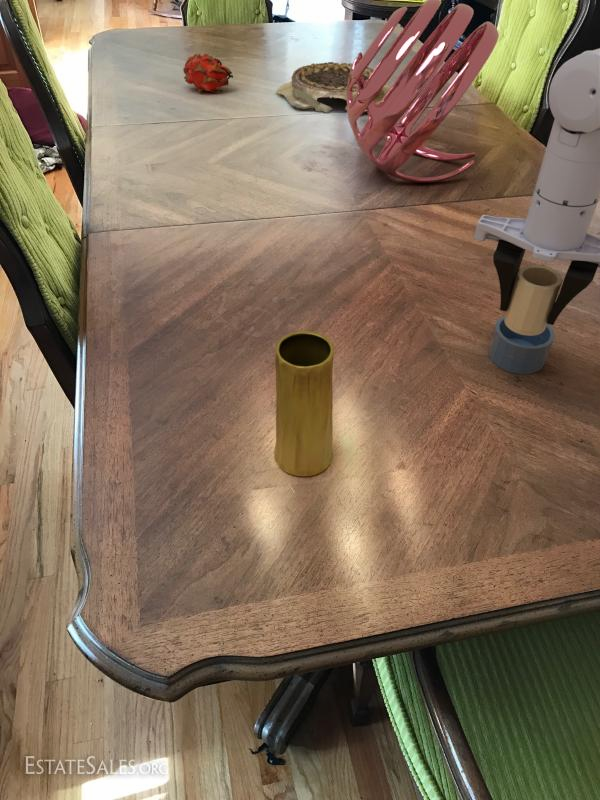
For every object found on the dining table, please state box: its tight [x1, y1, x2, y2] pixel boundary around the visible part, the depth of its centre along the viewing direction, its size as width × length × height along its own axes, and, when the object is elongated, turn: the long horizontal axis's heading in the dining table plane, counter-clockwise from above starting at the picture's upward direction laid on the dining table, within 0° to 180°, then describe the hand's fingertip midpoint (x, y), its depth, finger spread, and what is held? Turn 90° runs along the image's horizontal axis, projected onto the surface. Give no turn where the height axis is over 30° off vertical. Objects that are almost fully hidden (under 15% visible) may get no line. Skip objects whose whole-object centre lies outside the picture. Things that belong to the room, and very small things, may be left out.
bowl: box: [487, 314, 556, 375], centre depth 74 cm, size 7×7×4 cm
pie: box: [275, 61, 392, 114], centre depth 142 cm, size 28×27×5 cm
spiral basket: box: [346, 0, 500, 184], centre depth 106 cm, size 28×28×27 cm
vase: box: [273, 330, 335, 477], centre depth 59 cm, size 6×6×14 cm
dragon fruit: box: [182, 53, 234, 94], centre depth 143 cm, size 8×8×12 cm
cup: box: [504, 264, 564, 336], centre depth 65 cm, size 4×4×6 cm
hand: (527, 312), depth 66 cm, fingers closed on cup, 4 cm apart
